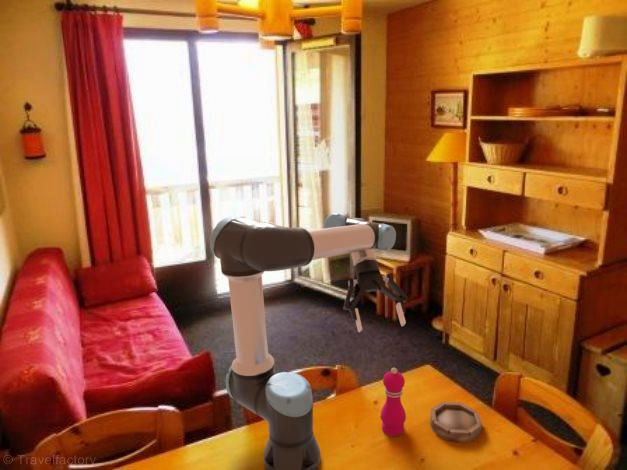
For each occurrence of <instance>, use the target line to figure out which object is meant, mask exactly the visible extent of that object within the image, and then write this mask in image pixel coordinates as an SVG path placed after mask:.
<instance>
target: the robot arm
mask: <svg viewBox="0 0 627 470" xmlns="http://www.w3.org/2000/svg"><path fill="white" fill-rule="evenodd" d="M395 229H396V228H394V227H393V225H389V224H385V223H380V222H373V221H367V220H366V219H364V218H362V217H361V218H358V217H353V218H351V217H348V216H345V215H344V214H341V213H338V212H334V213H331V214H329V215H328V216H327V217H326V218H325V220H324V224H323V228H317V229H309V230H308V229H307V228H305V227H288V226H284V225H283V226H282V225H277V224H273V223H269V222H264V221H260V220H255V219H251V218H247V217H245V216H234V215H233V216H227V217H225V218H223V219H221V220H220V221H219V222H217V224H216V225H215V227H214V228H213V229H212V231H211V233H210V236H209V247H210V251H211V253H212V254H213V255H214V256H215V257H216V258H217V259H219V262H220V269H221V271H220V272H221V274H222V275H223V276H224V277H226V278H227V281H228V289H229V299H230V306H231V317H232V327H233V329H232V330H233V338H234V347H235V356H236V357H235V358H234V359H233V361H232V362H231V365H230V367H229V368H228V373H227V374H226V375H225V389H226V391H227V394H228V395H229V397H230V398H231V399H232V400H234V401H235V403H237V404H238V405H241V406H242V407H245V409H247V410H249V411H250V412H251V413H254V414H255V415H257V416H259V417H260V418H262V419H263V420H265V421H266V422H267V424H268V438H267V442H266V446H265V448H264V453H263V465H264V468H265V470H319V469H318V468H319V467H320V465H321V459H322V458H321V457H322V455H321V447H320V445H319V442H318V440H317V438H316V436H315V433H314V413H313V412H314V406H313V405H314V404H313V403H314V401H313V399H314V398H313V393H312V386H311V384H310V383H309V381H308V380H307V379H306V378H305V377H304V376H303V375H301V374H299V373H296V372H290V373H289V372H287V371H282V372H278V373H277V372H276V367H275V359H274V356H272V354H270V353H269V349H268V347H269V346H268V337H267V336H268V335H267V323H266V313H265V312H266V311H265V300H264V289H263V287H264V286H263V277H262V276H263V274H264V273H266V272H277V271H278V272H279V271H285V270H286V271H287V270H291V269H296V268H301V267H306V266H308V265H310V264H311V263H312V261H314V260H315V261H316V260H321V259H326V258H331V257H336V256H342V255H347V254H350V256H351V258H352V262H353V267H354V272H355V276H356V279H354V278H352V277H350V278H349V280H348V281H347V286H348V288H347V292H346V296H345V300H344V304H343V307H342V309H343V311H348V313H350V317H351V320H352V322H355V324H356V328H357V332H358V333H361V332H362V331H363V326H362V325H363V324H362V322H361V316H360V313H359V308H357V307H356V306H357V304H358V303H359V301H360V299H361V297H362V295H363V294H364V292H366V293H370V292H377V291H379V292H380V293H383V294H384V296H386V297H387V298H388V299H390V300H391V301H393V302H394V303H395V304H396V305H395V309H396V310H395V311H396V312H397V316H398V320H399V324H400V326H401V327H404V326H405V325H406V323H407V322H406V318H405V314H406V308H405V304H404V303H406V302H407V301H408V300H409V297H408V296H407V294H406V293H405V292H404V291H403V289H402V288H401V287H400V286H399V285H398V283H396V281H395V280H394V278H393V276H392V275H391V273H388V274H386V275H382V274H381V270H380V267H379V263H378V261H377V260H378V259H377V255H376V252H375V249H376V250H379V251H390V250H391V249H392V248H393V247H394V246H395V243H396V239H397V238H396V237H397V232H396V230H395ZM384 282H385V283H386V284H387V285H388V287H387V285H386V284H384ZM356 284H357V285H358V286H359V287H360V290H359V291H358V293H357V294H356V296H355V298H354V300H353V301H352V303H351V304H350V302H351V297H352V294H353V290H354V287H356Z"/></svg>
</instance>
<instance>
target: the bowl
mask: <svg viewBox="0 0 627 470" xmlns="http://www.w3.org/2000/svg"><path fill="white" fill-rule="evenodd" d="M429 421H430V422H429V423H430V424H429V425H430V427H431V429H432V431H433V432H434V433H435V434H436V435H437V436H439V437H440V438H442V439H444V440H446V441H449V442H453V443H460V444H461V443H462V444H463V443H470V442H473V441H475V440H476V439H478V438H479V436H480V434H481V431H482V430H481V429H482V425H483V423H482V420H481V417H480V414H479V412H478V410H476V409H473V408H472V407H470V406H468V405H466V404H465V403H463V402H462V403H461V402H455V401H443V402H440V403H438V404H436V405H435V406H433V407H432V408H430V420H429Z"/></svg>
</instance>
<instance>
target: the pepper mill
mask: <svg viewBox="0 0 627 470" xmlns="http://www.w3.org/2000/svg"><path fill="white" fill-rule="evenodd" d="M382 379H383V380H382V382H383V383H382V384H383V386H384V393H385V395H386V399H385V402H384V404H383V405H382V408H381V410H380V421H382V423H381V430H382V431H383V432H384V434H386V435H387V436H391V437H398V436H400V435H402V434H403V432H404V429H405V422H406V420H407V415H406V414H407V413H406V411H405V410H406V409H405V408H404V406H403V403H402V401H401V397H402V396H403V393H404V392H403V391H404V390H403V388H404V387H405V377H404V375H403V374H402V373H401V372H399V371H398V369H397V368H396V367H391V368H390V371H387V372H386V373H384V375H383V378H382Z"/></svg>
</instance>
